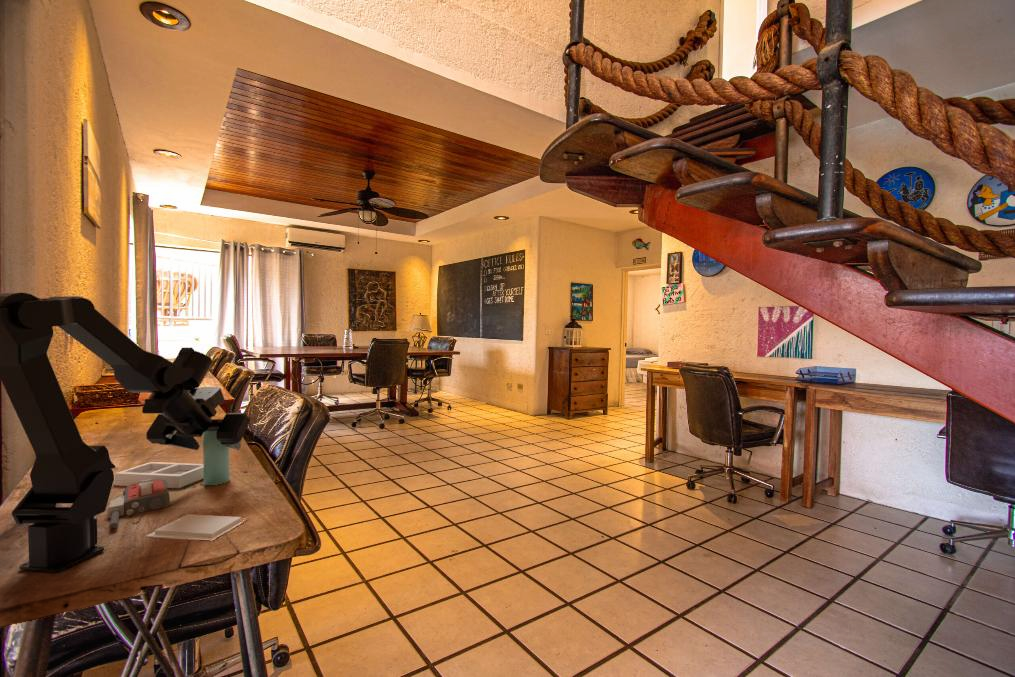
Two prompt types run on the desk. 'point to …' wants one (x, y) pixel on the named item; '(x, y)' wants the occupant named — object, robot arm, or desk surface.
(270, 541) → the desk surface
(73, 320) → the robot arm
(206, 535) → the lid
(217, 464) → the green banded cylinder
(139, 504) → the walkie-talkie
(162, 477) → the housing
